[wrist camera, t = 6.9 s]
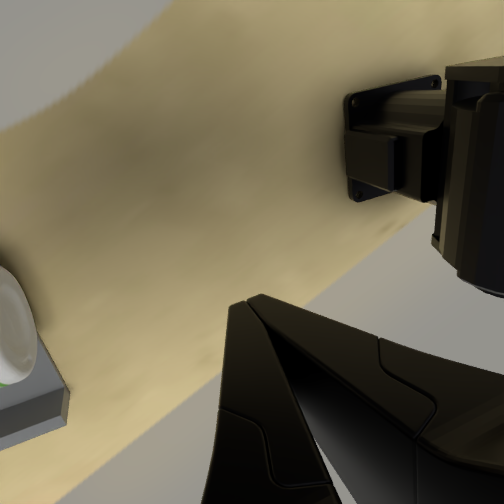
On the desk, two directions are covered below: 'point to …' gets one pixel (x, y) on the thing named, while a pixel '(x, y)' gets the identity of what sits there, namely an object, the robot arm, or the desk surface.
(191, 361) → the desk surface
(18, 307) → the supplement bottle
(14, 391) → the tray
